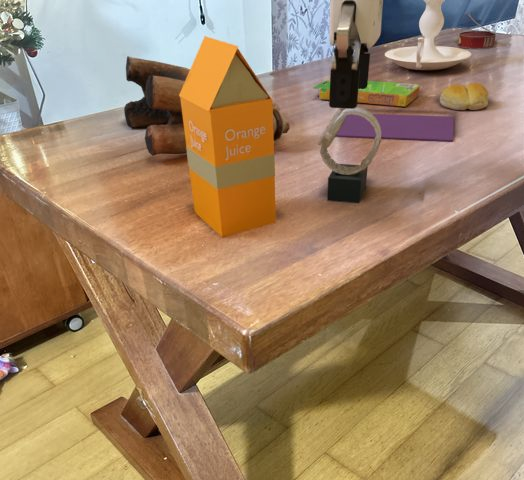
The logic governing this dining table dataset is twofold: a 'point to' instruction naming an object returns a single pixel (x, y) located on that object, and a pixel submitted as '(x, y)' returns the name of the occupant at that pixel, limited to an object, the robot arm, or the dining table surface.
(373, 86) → the game box
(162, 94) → the stacked firewood logs
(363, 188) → the watch
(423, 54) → the candlestick
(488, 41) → the canned food
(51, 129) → the dining table surface
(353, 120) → the cloth
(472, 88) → the bread roll
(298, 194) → the dining table surface
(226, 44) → the orange juice
